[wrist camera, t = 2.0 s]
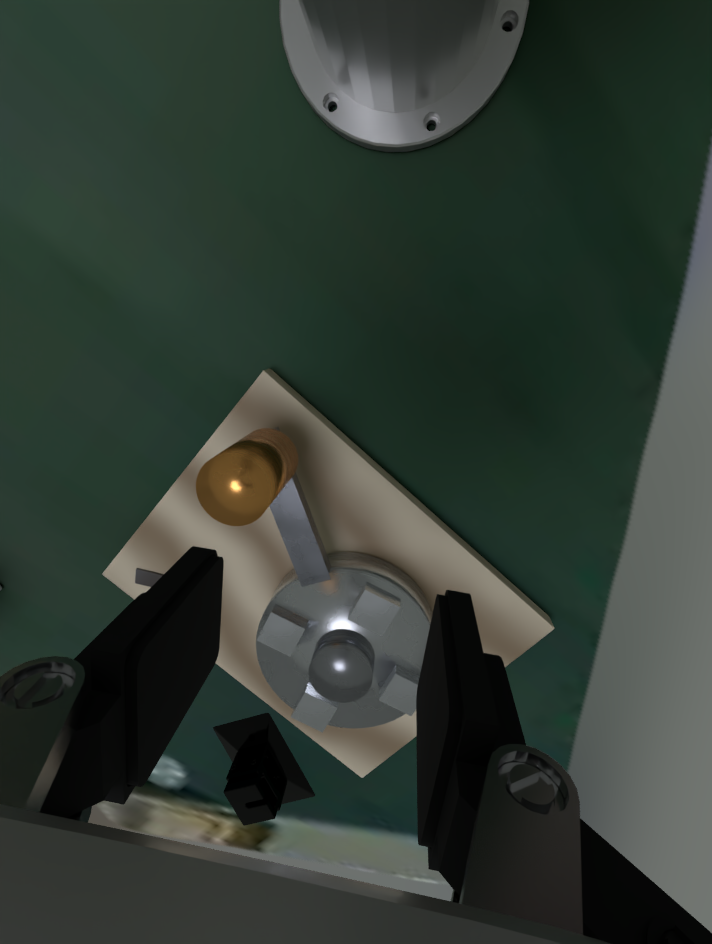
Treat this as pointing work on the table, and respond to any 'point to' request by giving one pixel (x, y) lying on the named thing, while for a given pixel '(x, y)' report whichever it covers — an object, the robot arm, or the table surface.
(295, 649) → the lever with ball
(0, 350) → the table surface
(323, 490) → the birch board
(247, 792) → the black stand with base
